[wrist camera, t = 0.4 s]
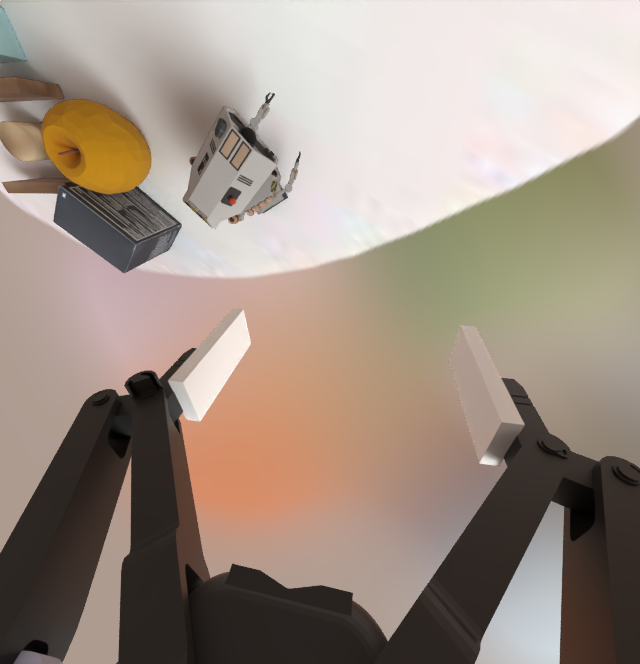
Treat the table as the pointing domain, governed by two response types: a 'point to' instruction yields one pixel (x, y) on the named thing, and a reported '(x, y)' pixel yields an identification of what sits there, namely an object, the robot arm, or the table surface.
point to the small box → (116, 224)
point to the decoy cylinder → (23, 140)
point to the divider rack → (27, 91)
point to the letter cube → (9, 41)
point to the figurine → (235, 171)
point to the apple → (95, 146)
